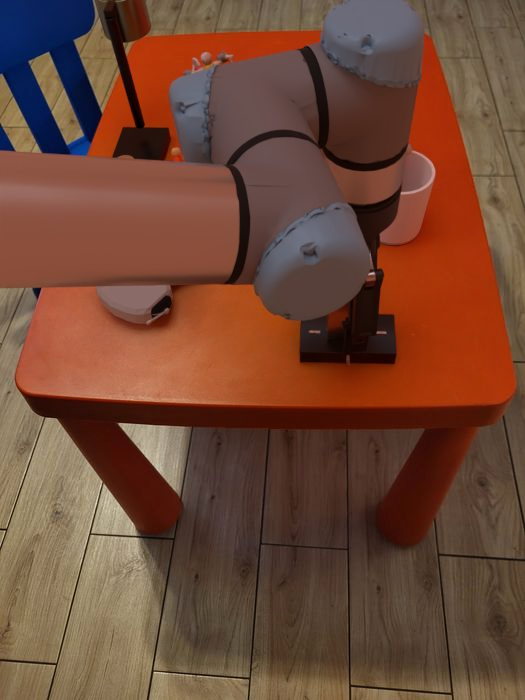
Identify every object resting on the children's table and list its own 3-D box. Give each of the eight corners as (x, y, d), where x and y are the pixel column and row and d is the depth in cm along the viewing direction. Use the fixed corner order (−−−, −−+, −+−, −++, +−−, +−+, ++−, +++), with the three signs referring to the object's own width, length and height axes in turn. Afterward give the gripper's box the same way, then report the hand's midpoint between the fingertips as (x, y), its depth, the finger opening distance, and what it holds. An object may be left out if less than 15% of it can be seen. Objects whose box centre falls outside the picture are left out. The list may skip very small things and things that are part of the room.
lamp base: (152, 203, 96) (146, 183, 93) (103, 201, 97) (96, 182, 94) (171, 138, 104) (166, 118, 101) (126, 137, 105) (119, 117, 102)
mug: (401, 196, 93) (410, 140, 84) (435, 233, 89) (449, 178, 80) (338, 223, 91) (341, 168, 82) (371, 262, 86) (377, 209, 78)
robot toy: (157, 242, 92) (85, 304, 86) (152, 219, 89) (76, 282, 82) (220, 277, 88) (149, 344, 81) (217, 254, 84) (143, 323, 77)
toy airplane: (229, 100, 109) (225, 66, 103) (180, 99, 110) (173, 66, 105) (237, 69, 114) (233, 36, 108) (189, 69, 115) (183, 36, 109)
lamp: (160, 129, 100) (131, 12, 84) (118, 128, 100) (81, 12, 84) (171, 91, 105) (146, -25, 89) (131, 91, 106) (99, -24, 90)
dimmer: (299, 374, 77) (299, 364, 75) (301, 313, 83) (301, 301, 80) (395, 376, 76) (397, 365, 74) (391, 313, 81) (393, 301, 79)
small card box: (327, 340, 77) (328, 295, 69) (325, 330, 78) (326, 284, 70) (370, 334, 77) (376, 289, 69) (367, 324, 78) (373, 278, 70)
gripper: (429, 256, 51) (397, 389, 70) (377, 108, 62) (361, 258, 81) (340, 268, 51) (332, 398, 70) (304, 117, 62) (306, 265, 81)
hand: (348, 322), depth 75 cm, fingers open, 7 cm apart
